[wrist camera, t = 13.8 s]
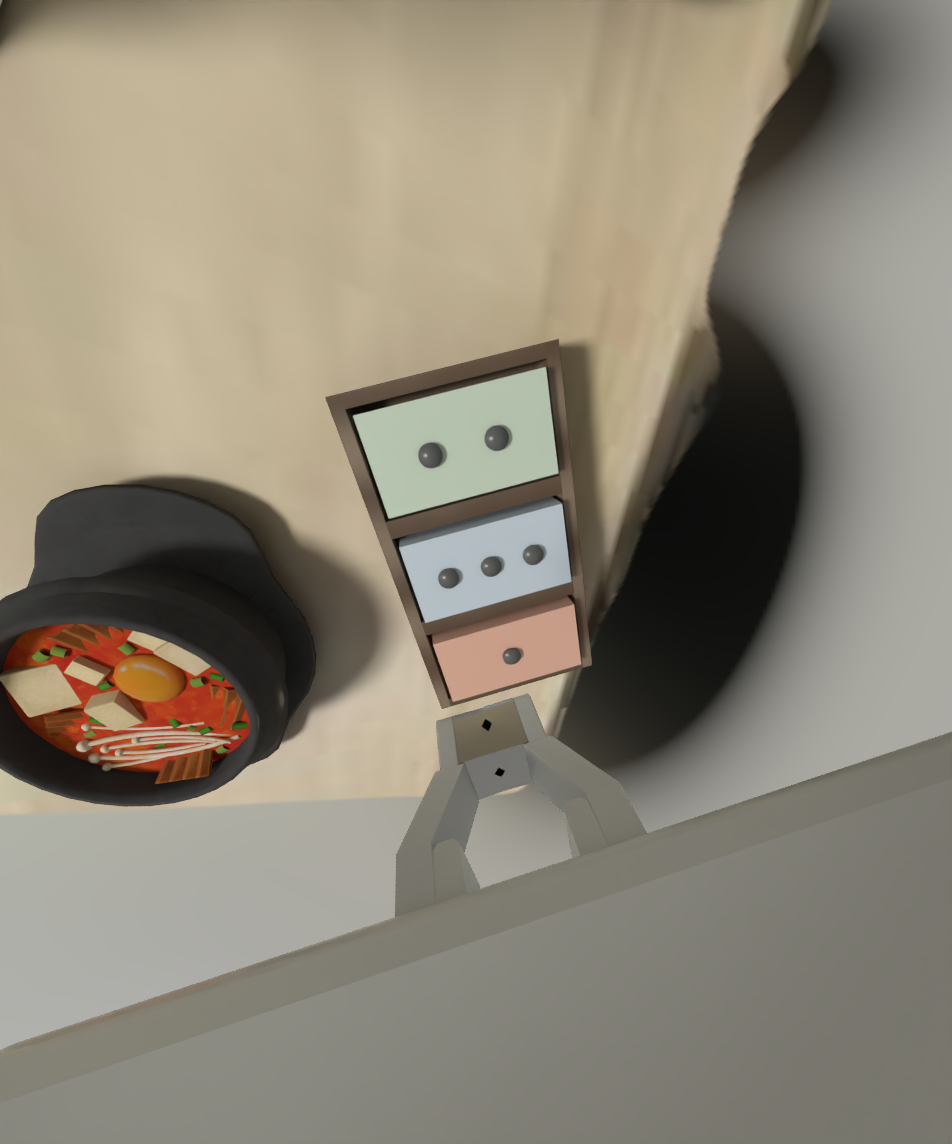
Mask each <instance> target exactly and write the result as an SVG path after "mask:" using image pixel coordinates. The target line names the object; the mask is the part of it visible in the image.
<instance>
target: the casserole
mask: <svg viewBox="0 0 952 1144" xmlns="http://www.w3.org/2000/svg"><path fill="white" fill-rule="evenodd" d="M315 665H316V652H315V647H314V642H313V636H312V634H311V632H310V630H309V627H308V625H307V623H306V621H305V618H304V616H303V615H302V614H301V612H300V611H299V610H298V608H297V607H296V606H295V604H294V603H293V602H292V600H291V599H290V598H289V596H288V595H287V594H286V592H285V591H284V590H283V588H282V587H281V586H280V584H279V583H278V582H277V580H276V579H275V578H274V576H273V573H272V571H271V569H270V567H269V565H268V563H267V560H266V558H265V556H264V554H263V552H262V550H261V548H260V546H259V545H258V543H257V541H256V539H255V537H254V535H253V533H252V531H251V530H249V529H248V528H247V527H246V526H245V525H244V524H243V523H242V522H241V521H240V520H239V519H237V518H236V517H235V516H234V515H233V514H232V513H230V512H228V511H226V510H224V509H222V508H220V507H218V506H216V505H214V504H212V503H210V502H208V501H206V500H203V499H200V498H197V497H193V496H190V495H187V494H184V493H181V492H178V491H174V490H168V489H163V488H157V487H151V486H145V485H101V486H95V487H89V488H84V489H78V490H73V491H71V492H69V493H66V494H64V495H62V496H60V497H57V498H55V499H53V500H51V501H50V502H49V503H48V504H47V505H46V507H45V508H44V509H43V510H42V511H41V513H40V514H39V515H38V516H37V522H36V532H35V567H34V569H33V572H32V575H31V578H30V581H29V584H28V586H27V588H25V589H23V590H20V591H18V592H15V593H13V594H11V595H8V596H6V597H5V598H3V599H2V600H1V601H0V768H1V769H2V770H4V771H5V772H7V773H9V774H10V775H12V776H13V777H15V778H17V779H19V780H21V781H24V782H26V783H28V784H30V785H33V786H35V787H37V788H39V789H41V790H45V791H48V792H51V793H54V794H57V795H60V796H63V797H67V798H70V799H75V800H80V801H85V802H90V803H95V804H105V805H115V806H154V805H162V804H170V803H176V802H180V801H184V800H188V799H192V798H196V797H199V796H201V795H204V794H206V793H209V792H211V791H214V790H216V789H218V788H220V787H221V786H223V785H224V784H226V783H228V782H229V781H231V780H233V779H234V778H235V777H236V776H237V775H238V774H239V773H240V772H241V771H242V770H243V769H245V768H246V767H247V766H249V765H250V764H253V763H256V762H258V761H260V760H263V759H265V758H268V757H269V756H270V755H271V754H272V753H274V752H275V751H276V750H277V749H278V748H279V746H280V743H281V741H282V738H283V735H284V733H285V730H286V727H287V725H288V722H289V720H290V718H291V717H292V715H293V714H294V712H295V711H296V709H297V708H298V706H299V705H300V704H301V702H302V701H303V699H304V698H305V696H306V695H307V693H308V692H309V690H310V687H311V684H312V681H313V678H314V675H315Z"/></svg>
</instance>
